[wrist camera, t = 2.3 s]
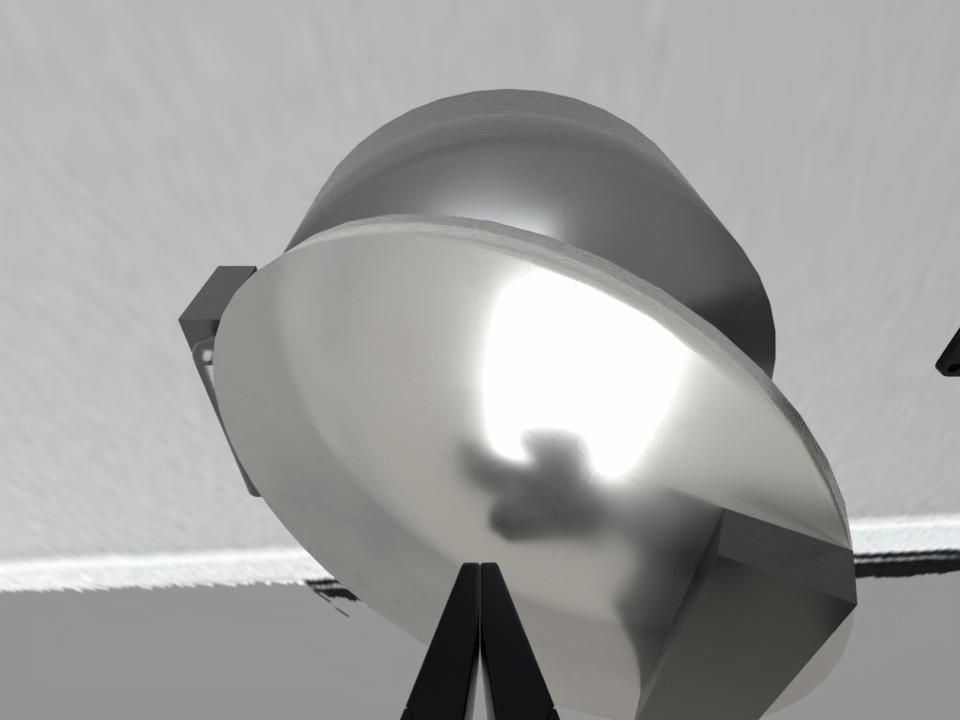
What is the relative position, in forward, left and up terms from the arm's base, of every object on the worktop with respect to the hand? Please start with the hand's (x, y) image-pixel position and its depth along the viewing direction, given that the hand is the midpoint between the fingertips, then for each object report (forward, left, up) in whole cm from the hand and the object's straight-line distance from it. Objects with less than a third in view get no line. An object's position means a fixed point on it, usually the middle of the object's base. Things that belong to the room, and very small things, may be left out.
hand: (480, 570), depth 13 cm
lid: (0, 0, -2) cm, 2 cm away
